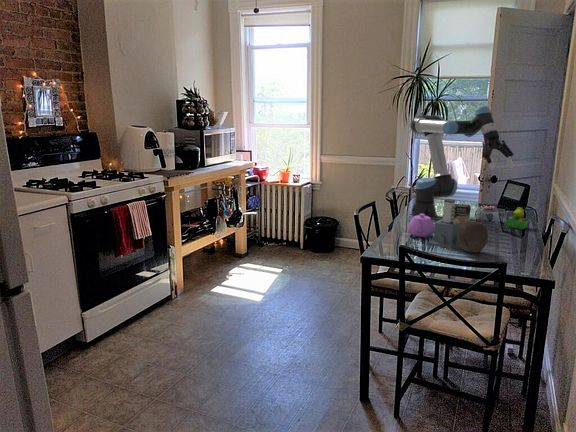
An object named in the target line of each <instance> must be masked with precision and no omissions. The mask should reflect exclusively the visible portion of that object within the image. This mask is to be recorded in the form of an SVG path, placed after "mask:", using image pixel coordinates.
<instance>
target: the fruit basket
mask: <svg viewBox="0 0 576 432" xmlns="http://www.w3.org/2000/svg"><path fill="white" fill-rule="evenodd" d="M524 216H525V213H524V209H523V208H522V207H520V206H518V207H516V208H515V210H514V211H513V215H508V216H507V217H505V218H504V220H505V224H506V227H507V228H513V229H518V230H519V229H520V230H524V229H526V228H527V226H528V225H529V224H528V223H529V221H530V218H525V217H524Z"/></svg>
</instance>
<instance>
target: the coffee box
mask: <svg viewBox="0 0 576 432" xmlns="http://www.w3.org/2000/svg"><path fill="white" fill-rule="evenodd" d="M455 206H456V208H454V209H455V210H456V211H455V212H454V213H455V215H454V217H455V219H458V220H459V222H460V227H461V225H462V224H464V223H465V222H468V221H470V219H471V218H470V216H471V209H472V207H471V205H470V204H461V203H460V204H459V203H455ZM455 219H454V220H455ZM454 220H453V221H454Z"/></svg>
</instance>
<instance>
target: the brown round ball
mask: <svg viewBox="0 0 576 432" xmlns="http://www.w3.org/2000/svg"><path fill="white" fill-rule="evenodd" d="M488 231H489V230H488V229H487V226H486V225H485V224H484V223H482V222H479V221H475V220H473V221H472V220H471V221H470V220H469V221H468V222H465V223H464V224H462V225H461V227H460V228H459V230H458V241H459V244H458V245H459V246H460V247H461V248H462V249H463V250H464V251H465V252H467V253H471V254H478V253H480V252H481V251H482V250H484V248H485V247H486V245H487V244H488V240H489V232H488Z"/></svg>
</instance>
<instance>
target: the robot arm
mask: <svg viewBox="0 0 576 432" xmlns="http://www.w3.org/2000/svg"><path fill="white" fill-rule="evenodd" d="M474 115H475V116H474V117H472V119H470V120H445V119H444V117H442V116H441V115H436V114H432V115H417V116H415V117H413V118H412V119H411V121H410V130H411V131H412V133H414V134H417V135H424V139H426V140H427V142H428V147H429V154H430V159H431V164H432V170H433V176H432V177H431V176H430V177H428V176H427V177H421V178H418V179H417V180H416V182H415V195H414V196H415V197H414V203H413V206H412V208H411V212H410V213H411V216H413V217H414V216H417V215H419V214H425V216H428V217H430V218H431V219H432V218H436V216H437V210H436V205H435V199H440V198H441V199H442V198H446V199H447V198H450V197H453V196H454V195H455V194H456V192H457V189H458V183H457V180H456V179H455V178H453V177H452V174H451V173H449V169H448V164H447V159H446V154H445V149H444V144H443V138H442V137H443V135H444V134H445V135H449V136H451V135H452V136H453V135H463V136H465V137H468V138H471V137H473V136H475V135H476V134H478V132H480V131H481V134H482V137H483V139H484V140H483V141H482V142H481V144H482V150H481V151H482V152H481V153H482V154H481V156H482V158H483V159H484V160H486V162H487V164H488V166H489V168H490V170H491V171H492V170H494V169H495V168H496V165H495V162H494V160H493V156H491V155H492V151H493V150H497V151H499V152H501V154H503V156H505V157H506V158H505V160H506V162H507V163H506V164H507V165H508V169H509V170H513V169H514V168H515V167H516V166H515V164H514V160H513V156H514V152H513V151H512V150H511V148H509V146H508V145H507V143H506V141H505V140H504V139H502V140H500V133H499V131H498V129H497V126H496V124H495V121H494V117H493V114H492V112H491V109H490V107H489V106H487V105H486V106H484V105H483V106H480V107H478V108H477V109H475V111H474Z"/></svg>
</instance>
